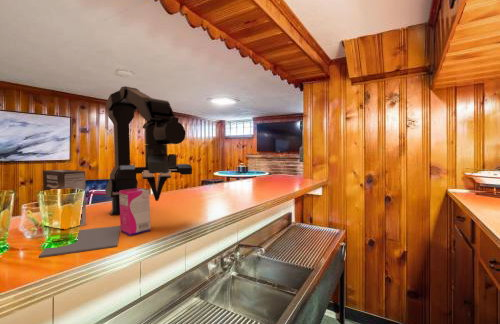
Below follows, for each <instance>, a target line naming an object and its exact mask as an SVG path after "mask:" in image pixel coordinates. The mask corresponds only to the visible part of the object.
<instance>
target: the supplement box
mask: <svg viewBox="0 0 500 324" xmlns="http://www.w3.org/2000/svg"><path fill="white" fill-rule="evenodd" d="M118 193H119V200H120V214H119V215H120V216H119V217H120V220H119V221H120V226H121V228H120V232H121V233H123V234H125V235H127V236H128V237H133V236H136V235H140V234H144V233H148V232H150V231H151V230H152V229H151V225H152V224H151V206H150V205H151V201H150V189H149V188H142V187H137V188H134V189H127V190H120V191H119V192H118Z"/></svg>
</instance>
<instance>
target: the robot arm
mask: <svg viewBox="0 0 500 324" xmlns="http://www.w3.org/2000/svg"><path fill="white" fill-rule="evenodd" d="M105 109H106V111H107V116H108V118H109V120H110V121H111V122H112V124H113V139H114V141H113V143H114V145H113V147H114V167H113V169H112V170H111V172H110V174H109V180H108V182H107V185H106V187H105V189H104V191H105V192H104V193H105V196H106V197H108V198H111V208H112V209H111V211H110V213H109V215H110V216H118V215H120V200H119V191H120V190H127V189H134V188H138V185H139V184H138V183H139V182H138V179H137V175H139V174H141V175H142V176H141V177H142V179H143V180H147V182H148V184H149V186H150V189H151V192H152V194H153V195H152V196H153V197H154V200H155V201H156V202H158V201H159V199H160V196H161V194H162V191H163V190H162V189H163V187H164V186H165V183H166V181H168V179H171V178H172V175H171V173H177V174H180V176H181V175H185V176H186V175H193V167H192V165H191V164H189V163H178V162H177V161H178V160H177V154H176V153H169V154H168V145H179V144H181V143H182V142H184V140H186V139H185V138H186V130H185V127H184V125H183V124H182V123H181V122H180V121H179V117H177V116H176V115H175V113H174V111H173V109H172V106H171V104H170V102H169V101H168V100H164V99H157V98H153V97H150V96H149V95H147V94H145V93H144V92H143V91H140V89H138V88H136V87H132V86H126V85H125V86H121V87H120V89H119V90H117V91H115V92H113V93H111V94H109V96H108V98H107V99H106V102H105ZM137 110H138V114H139V115H140V116H141V117H142V118H143V119H144V120H145V121H146V122H145V123H144V124H143V125H142V129H144V144H145V145H144V147H145V148H144V150H145V151H144V154H145V155H144V157H145V158H144V162H145V163H144V164H145V165H144V166H136V165H135V164H131V139H130V138H131V137H130V124H131V122H132V120H134V118H135V112H136V111H137ZM155 174H158V175H157V181H156V177H155ZM156 183H157V184H156Z"/></svg>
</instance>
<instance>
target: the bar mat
mask: <svg viewBox="0 0 500 324" xmlns="http://www.w3.org/2000/svg"><path fill="white" fill-rule="evenodd" d="M78 230H79V233H78V237H77V239H78V240H77V241H76V242H75V243H73V244H70V245H67V246H62V247H57V248H46V247H45V248H44V249H43V251H41V253H39V255H38V258H39V259H40V258H46V257H55V256H56V257H57V256H60V255H68V254H76V253H77V254H78V253H82V252H89V251H96V250H97V251H98V250H104V249H110V248H112V249H113V248H117V247H118V245H119V239H120V238H119V237H120V232H121V225H114V226H105V227H94V228H87V229H78Z"/></svg>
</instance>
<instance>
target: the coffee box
mask: <svg viewBox="0 0 500 324" xmlns="http://www.w3.org/2000/svg"><path fill="white" fill-rule="evenodd" d="M42 183H43V185H42V188H43V192H44V190H50V189H66V188H79V189H84V190H85V191H86V171H85V170H76V169H50V170H49V169H48V170H42ZM86 197H87V196H86V195H85V197H84V204H83V207H82V214H81V220H80V226H79V227H82V226H85V225H86V224H87V220H86V219H87V217H86V216H87V215H86V211H87V209H86V207H87V206H86V205H87V204H86Z"/></svg>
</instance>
